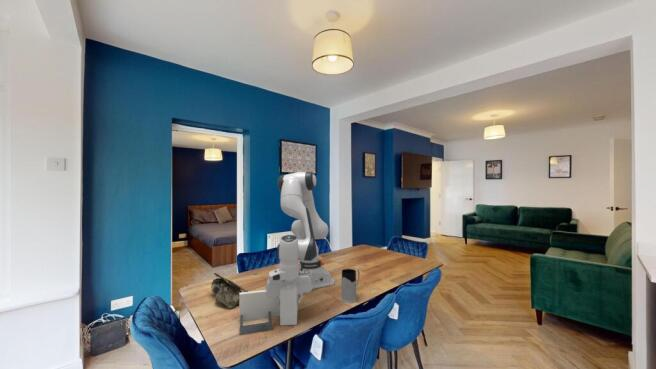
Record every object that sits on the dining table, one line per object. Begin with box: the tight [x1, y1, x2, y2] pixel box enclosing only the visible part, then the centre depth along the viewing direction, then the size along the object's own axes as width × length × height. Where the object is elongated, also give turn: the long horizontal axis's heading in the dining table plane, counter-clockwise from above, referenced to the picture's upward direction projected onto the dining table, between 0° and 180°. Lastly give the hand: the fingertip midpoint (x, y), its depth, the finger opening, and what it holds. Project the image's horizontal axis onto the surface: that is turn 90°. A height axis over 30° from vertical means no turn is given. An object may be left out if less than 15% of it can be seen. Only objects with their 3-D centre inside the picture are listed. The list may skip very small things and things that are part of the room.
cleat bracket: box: [239, 311, 274, 336], centre depth 114 cm, size 13×10×3 cm
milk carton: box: [279, 283, 298, 326], centre depth 117 cm, size 7×7×19 cm
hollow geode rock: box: [210, 272, 249, 309], centre depth 139 cm, size 28×13×15 cm
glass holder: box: [340, 268, 360, 304], centre depth 142 cm, size 9×14×15 cm, turn 140°
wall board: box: [238, 289, 299, 323], centre depth 122 cm, size 26×2×12 cm, turn 107°
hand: (288, 304), depth 117 cm, fingers closed on milk carton, 7 cm apart
